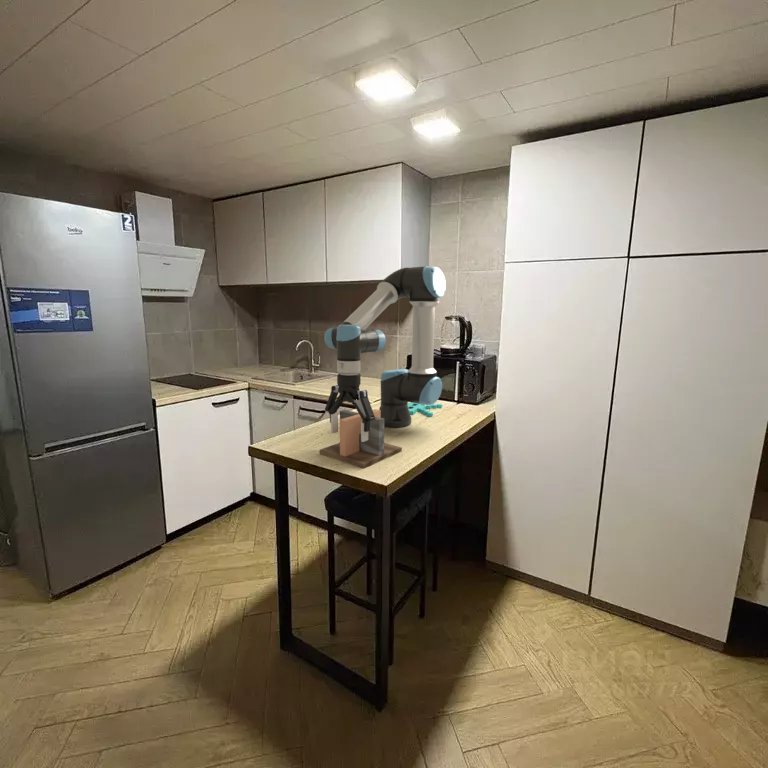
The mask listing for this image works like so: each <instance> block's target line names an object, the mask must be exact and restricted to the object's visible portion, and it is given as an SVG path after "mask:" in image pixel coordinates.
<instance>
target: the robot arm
mask: <svg viewBox="0 0 768 768" xmlns="http://www.w3.org/2000/svg"><path fill="white" fill-rule="evenodd" d="M446 289H447V283H446V277H445V275H444V273H443V271H442V270H441V268H439V267H438V266H429V265H427V266H426V265H425V266H417V267H416V266H415V267H403V268H400V269H397V270H395V271H393V272H392V273H390V274H389V275H388V276H386V277H384V279H383V280H381V281H380V282H379V283H378V284H377V285H376V290H375V291H374V292H372V294H371V295H369V296H368V297H367V299H365V300H364V302H362V303H361V304H360V305H359V306H358V307H357V309H355V310H354V311H353V312H352V313H351V314H350V315H348V317H347V318H346V319H345V320H344V321H343V322H342V323H341V324H340V325H337V327H335V326H334V327H330V328H328V329H326V331H325V332H324V337H323V340H324V343H325V345H326V346H327V347H328V348H329V349H334V350H336V371H337V374H336V384H335V385H331V388H330V394H329V395H328V396H329V397H328V399H327V402H326V403H325V408H324V411H325V412H328V414H329V423H330V434H335V433H338V432H339V413H338V410H339V409H340V407H342V404H343V403H344V402H347V403H351V404H352V406H354V408H355V409H356V412H357V413H359V415H360V416H361V418H362V420H363V421H362V422H361V442H364V441H367V440H368V431H370V421H372V420H375V416H374V413H373V410H374V409H373V408H372V405H371V403H370V399H369V397H368V395H369V394H368V390H367V389H364V390H360V385H361V375H362V374H360V373H361V371H362V369H361V367H362V366H361V363H362V362H361V357H362V356H361V354H366V353H376V352H379V351H380V352H381V350H382V349H384V347H385V345H386V340H387V339H386V338H387V337H386V336H385V333H384V332H383V331H382V330H380V329H374V328H371V329H367V328H369V326H370V325H371V324H372V323H373V322H374V321H375V320H376V319H377V318H378V317H379V316H380V315H382V312H384V311H385V310H386V309H387V308H388V307H389V306H390V305H391V304H395V303H397V301H398V300H400V299H403V298H409V300H408V301H409V304H410V305H412V337H411V338H412V341H411V342H412V343H411V345H412V347H411V348H412V350H411V366H410V368H409V369H407V368H400V369H399V368H398V369H389V370H385V371H382V372H381V374H380V375H381V377H380V406H379V409H378V410H381V418H384V428H385V427H386V428H403V427H404V428H405V427H407V426H410V425H411V424H412V415H410V412H409V408H408V403H411V402H412V403H418V404H421V405H425V406H426V405H432V404H435V403H436V402H437V401H438V400H439V398H440V397H441V394H442V391H443V381H442V379H441V378H440V377H439V376H437V374H438V373H437V372H438V371H437V370H436V369H435V368H434V351H435V350H434V349H435V326H436V325H435V316H436V306H437V305H438V304H439V303H440V299H441V298H442V297H444V295H445V293H446ZM365 417H366V418H365Z"/></svg>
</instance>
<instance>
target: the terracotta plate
mask: <svg viewBox="0 0 768 768" xmlns="http://www.w3.org/2000/svg"><path fill="white" fill-rule="evenodd" d="M372 410H373V413H374V416H375V417H379V418H381V410H379V409H376V408H374V409H372ZM362 421H363V420H362V418H361V416H360V415H359V414H357V415H354V416H350V417H347V418H343V419H340V418H339V443H340V455H342V456H345V457H346V456H348V455H351V454H353V453H356V452H358V451H359V434H361V422H362Z"/></svg>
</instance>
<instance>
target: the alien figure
mask: <svg viewBox="0 0 768 768" xmlns="http://www.w3.org/2000/svg"><path fill="white" fill-rule="evenodd" d="M408 408H409V412H410V416H414V415H415V414H416V412H417V413H421V414H423V416H426V417H427V418H433V416H434V412H431V411H430V410H431V409H432V410H436V409H440V410H441V409H442V408H443V404H442V403H437V404H435V403H434V404H432V405H421V404H418V403H412V402H408ZM428 409H429V410H428ZM421 414H420V415H421Z"/></svg>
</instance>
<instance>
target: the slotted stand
mask: <svg viewBox="0 0 768 768" xmlns="http://www.w3.org/2000/svg"><path fill="white" fill-rule="evenodd" d="M357 414H359V413H358V411H352V410H347V409H342V410H339V420H340V419H343V418H347V417H350V416H354V415H357ZM365 418H366V417H365ZM401 452H403V447H402V446H399V445H395V444H392V443H391V444H390V443H387V442H385V426H384V418H379V417H375V420H372V421H370V431H368V440H367V441H364V442H361V434H359V451H358V452H356V453H353V454H351V455H348V456H346V457H345V456H342V455H340V442H338V443H335V444H332V445H329V446H327V447H323V448H320V449H319V454H320V455H321V456H324V457H328V458H331V459H334V460H338V461H341V462H343V463H346V464H349V465H352V466H355V467H359V468H362V469H365V468H368V467H371V466H373V465H375V464H378V463H379V462H381V461H383V460H386V459H388V458H391V457H393V456H395V455H397V454H399V453H401Z"/></svg>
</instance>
